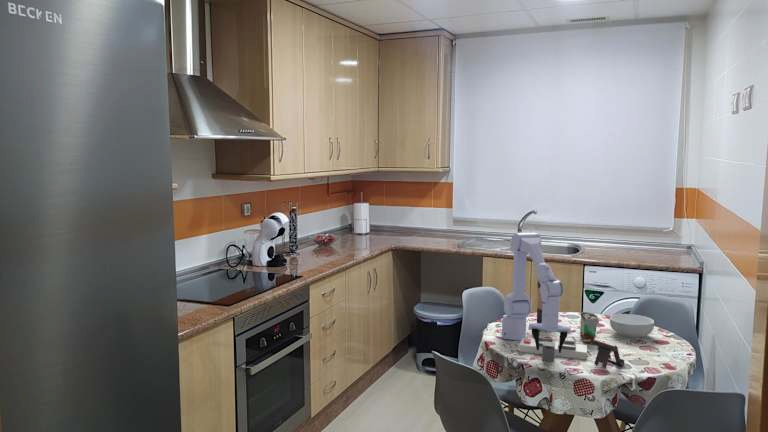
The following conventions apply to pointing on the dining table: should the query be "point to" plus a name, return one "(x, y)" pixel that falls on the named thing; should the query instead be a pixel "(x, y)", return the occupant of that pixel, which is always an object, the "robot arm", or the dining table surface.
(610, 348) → the portable electronic device stand
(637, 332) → the cereal bowl
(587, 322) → the food container
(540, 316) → the travel mug
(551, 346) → the block
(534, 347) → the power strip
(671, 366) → the dining table surface
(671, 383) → the dining table surface
